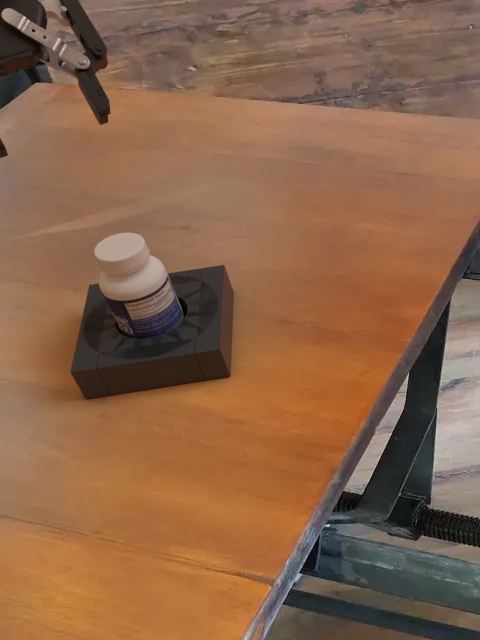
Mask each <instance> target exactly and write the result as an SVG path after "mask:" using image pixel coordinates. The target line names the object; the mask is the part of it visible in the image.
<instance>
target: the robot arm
mask: <svg viewBox="0 0 480 640" xmlns="http://www.w3.org/2000/svg"><path fill="white" fill-rule="evenodd" d="M49 18H52V19H54V20H56V21H57V22H58V23H59V24H60V25H61V26H63V27H65V28H67V27H70V29H71V30H72V32H73V34H74V35H75V37H76V38H77V40H78V42H79V43H80V45H81V46H82V48H83V50H84V51H85V52H82V53H81V52H80V51H78V50H76V49H75V48H73V47H71V46H70V45H68V44H67V43H65V41H63V39H62V38H61V37H59V36H57V35H56V34H54V33H52V32H50V31H49V30H47V27H48V19H49ZM38 62H42V63H43V64H45V65H47V66H49V67H51V68H52V69H54V70H55V71H62V72H63V73H65V74H67V75H68V76H70V77H73V78H74V79H75V80H77V84H78V88H79V90H80V91H81V93H82V95H83V97H84V99H85V101H86V102H87V104H88V106H89V108H90V110H91V111H92V113H93V116H94V117H95V119H96V120H97V122H98V124H99V126H102V125H105V124H108V123H109V115H111V105H110V104H111V103H110V99H109V98H108V97H109V96H108V95H107V93H106V92H105V90H104V88H103V86H102V84H101V82H100V80H99V79H98V77H97V73H98V72H99V71H100V70H105V69H107V67H108V65H109V60H108V48H107V45H106V43H105V42H104V40H103V39H102V36H101V35H100V33H99V32H98V30H97V29H96V27H95V25H94V24H93V22H92V21H91V19H90V17H89V16H88V14H87V12H86V10H85V9H84V8H83V5H82V4H81V3H80V1H79V0H41V1H40V0H0V78H3V77H7V76H9V75H10V74H12V73H14V72H16V71H17V70H18V71H20V70H29V69H32V68H36V67H37V65H36V64H38ZM8 156H9V154H8V151H7V148H6V146H5V144H4V142H3V140H2V138H1V137H0V159H3V158H5V157H8Z"/></svg>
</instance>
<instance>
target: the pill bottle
mask: <svg viewBox="0 0 480 640" xmlns="http://www.w3.org/2000/svg"><path fill="white" fill-rule="evenodd" d="M150 253H151V252H150V249H149V247H148V245H147V243H146V241H145V238H143V236H142V235H141V234H138V233H135V232H120V233H115V234H111V235H109V236H107V237H105V238H104V239H101V240H100V241H99V242H98V243H97V244H96V246H95V247H94V249H93V255H94V257H95V259H96V262H97V264H98V267H99V268H100V270H101V271H100V273H99V275H98V283H99V286H100V289H101V292H102V294H103V296H104V298H105V300H106V302H107V304H108V306H109V308H110V310H111V312H112V314H113V316H114V318H115V320H116V323H117V325H118V327H119V329H120V330H121V332H122V334H123V335H124V336H126V337H128V338H138V339H143V338H149V337H156V336H158V335H161V334H164V333H166V332H169V331H171V330H172V329H173V328H175V327H176V326H178V325H179V324H180V323H181V322H182V321H183V319H184V318H185V316H184V313H183V311H182V308H181V306H180V303H179V301H178V299H177V296H176V294H175V291H174V289H173V287H172V284H171V282H170V279H169V276H168V274H167V273H168V272H167V270H166V268H165V265H164V264H163V262H162V261H161V260H160V259H159V258H157V257H155V256H153V255H151V254H150Z"/></svg>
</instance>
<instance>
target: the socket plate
mask: <svg viewBox="0 0 480 640" xmlns="http://www.w3.org/2000/svg"><path fill="white" fill-rule="evenodd" d="M167 274H168V276H169V279H170V282H171V284H172V287H173V289H174V291H175V294H176V296H177V299H178V301H179V303H180V306H181V308H182V311H183V313H184V316H185V318H184V319H183V321H182V322H181V323H180V324H179V325H178V326H176V327H175V328H173V329H172V330H171V331H169V332H166V333H164V334H161V335H158V336H156V337H149V338H143V339H138V338H128V337H126V336H124V335H123V334H122V332H121V330H120V329H119V327H118V325H117V323H116V320H115V318H114V316H113V314H112V312H111V310H110V308H109V306H108V304H107V302H106V300H105V298H104V296H103V294H102V292H101V289H100V286H99V282H98V283H93V284H92V283H91V284H89V285H88V289H87V294H86V298H85V302H84V303H85V304H84V307H83V312H82V317H81V322H80V327H79V331H78V335H77V340H76V344H75V349H74V353H73V358H72V362H71V367H70V374H71V376H72V378H73V380H74V382H75V383H76V385H77V386H78V388H79V391H80V392H81V394H82V396H83V397H84V399H85V400H90V399H96V398H102V397H109V396H113V395H121V394H127V393H134V392H139V391H146V390H151V389H152V390H153V389H159V388H166V387H172V386H178V385H185V384H191V383H196V382H204V381H210V380H216V379H217V380H219V379H224V378H229V377H231V371H232V348H233V347H232V346H233V344H232V343H233V320H234V296H235V292H234V288H233V286H232V283H231V279H230V277H229V274H228V271H227V268H226V266H225V264H221V265H213V266H207V267H201V268H193V269H187V270H182V271H181V270H180V271H173V272H167Z"/></svg>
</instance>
